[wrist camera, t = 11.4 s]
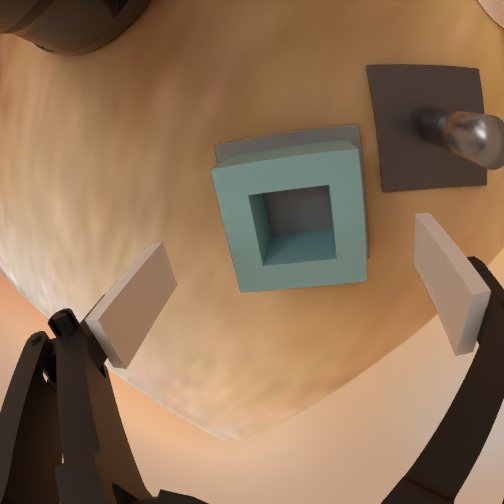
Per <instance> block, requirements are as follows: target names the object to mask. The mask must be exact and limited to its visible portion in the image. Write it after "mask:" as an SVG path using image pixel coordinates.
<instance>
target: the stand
mask: <svg viewBox="0 0 504 504" xmlns="http://www.w3.org/2000/svg"><path fill="white" fill-rule="evenodd" d="M366 70H367V75H368V80H369V86H370V91H371V97H372V103H373V110H374V117H375V124H376V132H377V140H378V149H379V158H380V169H381V182H382V191H383V192H390V191H402V190H415V189H428V188H443V187H459V186H478V185H487V169H490V170H495V169H499V168H501V167H502V166H503V165H504V122H503V121H502V120H501V119H499V118H498V117H496V116H492V115H486V114H484V105H483V96H482V89H481V82H480V75H479V69H475V68H466V67H454V66H439V65H367V66H366Z"/></svg>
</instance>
